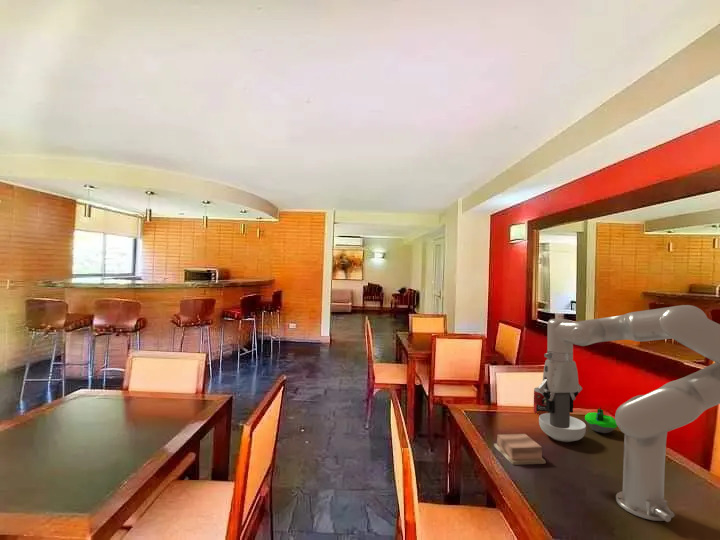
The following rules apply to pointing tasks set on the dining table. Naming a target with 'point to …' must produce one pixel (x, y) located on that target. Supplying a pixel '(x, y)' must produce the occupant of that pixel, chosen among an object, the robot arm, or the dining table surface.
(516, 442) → the pedestal
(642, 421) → the robot arm
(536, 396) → the canned food
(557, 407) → the bottle
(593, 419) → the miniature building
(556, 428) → the cereal bowl
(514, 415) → the dining table surface
